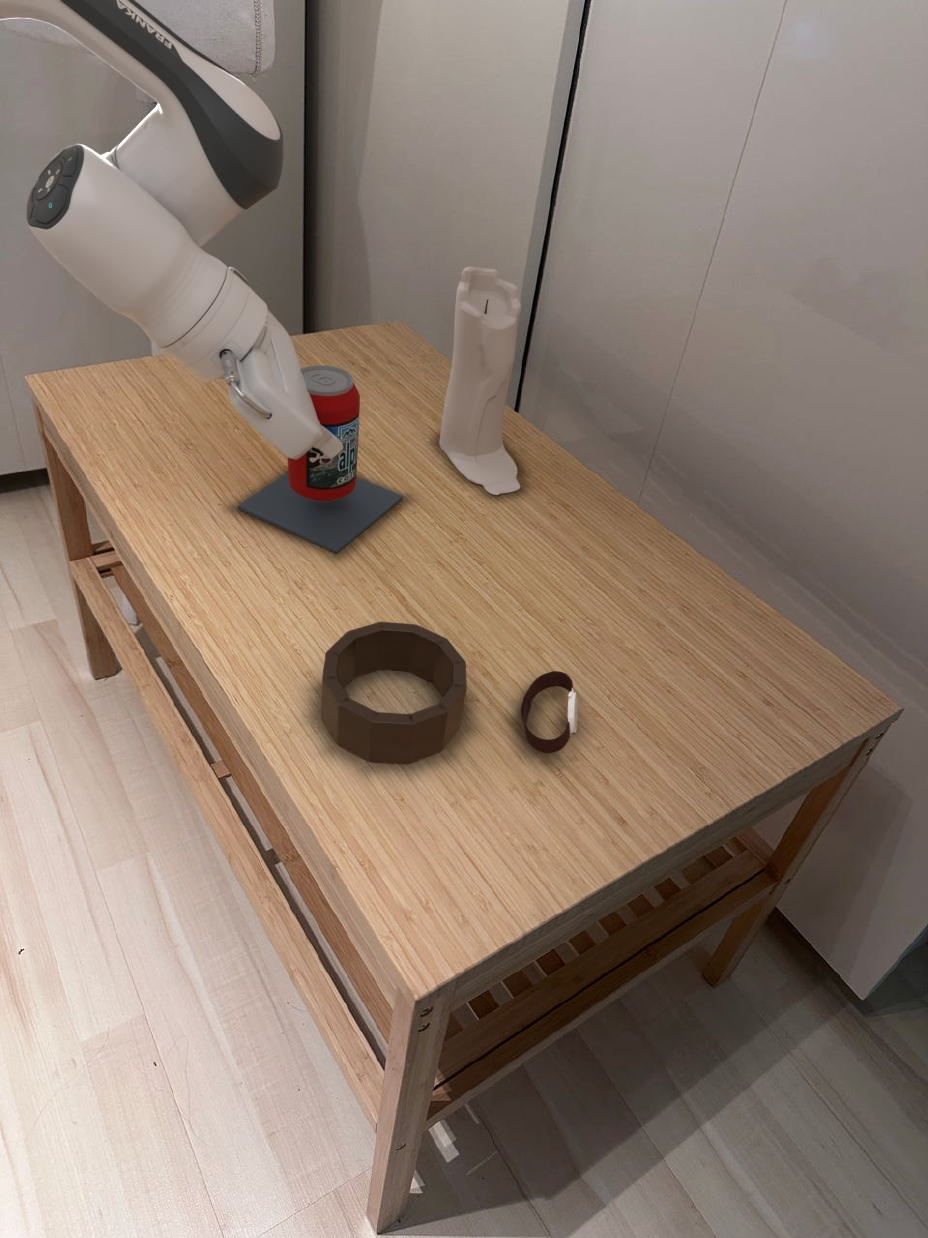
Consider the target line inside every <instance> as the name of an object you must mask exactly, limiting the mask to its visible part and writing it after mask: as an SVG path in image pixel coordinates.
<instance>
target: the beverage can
mask: <svg viewBox="0 0 928 1238" xmlns="http://www.w3.org/2000/svg"><path fill="white" fill-rule="evenodd" d="M301 368H302V369H300V371H301V372H302V373H303V377H304V381H305V384H306V386H307V387H306V389H307V390H308V392H309V393H310V396H311V399H312V402H313V405H314V408H315V411H316V415H317V418H318V420H319V422H320V425H322V426H323V427H325V428H326V429H327V430H328V429H329V428H330V429H331V430H332V431H334V432H335V434H337V435H338V436H339V437H340V439H341V441H342V444H343V449H342V450H341V451H340V452H339V453H338V454H337V455H336V456H335V457H332V458H330V457H328V456H327V455H325V454H324V453H323V452H322V451H321V450H319V449H317V448H314V447H312V448H311V449H310V450H309V451H308V452H307V453H305V454H304V455H303V456H302V457H300V458H299V459H291V458H288V457H287V472H288V481H289V485H290V487H291V488H292V489H293V490H294V491H295V492H296V493H297V494H299V495H301V496H303V497H305V498H308V499H310V500H313V501H319V502H328V501H334V500H337V499H340V498H342V497H345V496H347V495H348V494H350V493H351V492H352V491H353V490H354V488H355V485H356V477H357V472H358V471H357V469H358V452H359V433H360V431H359V430H360V412H361V411H360V409H361V394H360V391H359V390H358V388H357V385H356V384H355V383H354V377H353V376H352V374H351V373H349V371H346V370H345V369H343V368H340V367H337V366H333V365H328V364H327V365H326V364H314V365H308V366H305V367H301Z"/></svg>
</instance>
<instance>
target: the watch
mask: <svg viewBox="0 0 928 1238" xmlns="http://www.w3.org/2000/svg"><path fill="white" fill-rule="evenodd" d="M553 687H558V688H562V689H565V690H566V691H568V692H569V693H568V694H567V697H568V699H567V725H566V728H565V730H564V731H563V732H562V734H560V735H559V736H557V737H556V738H551V739H545V738H541V737H538V736H536V735H535V734H533V732H532V731H531V730H530V729H529V728H528V726H527V723H528V718H529V713H530V711H531V707H532V702H533V700H534V699H535V697H536V696H537V695H538V694H539V693H541V692H542V691H544V690H545V689H549V688H553ZM578 701H579V700H578V693H577V691H575V690H574V682H573V680H572V678H571V676H570V675H568V674H567V673H565V672H564V671H557V670H554V671H553V670H552V671H549V672H546V673H543V674H541V675H539V676H538V677H536V678H535V679H534V680H533V681H532V683H530V686H529V687H528V689H527V690H526V692H525V693H524V696H523V698H522V702H521V708H520V713H521V720H522V722H523V728H524V735H525V738H526V741H527V742H528V744H529V745H530V746H531V747H532V748H533V749H534V750H536V751H537V752H540V753H543V754H554V753H557V752H559V751H561V750H562V749H564V748H565V747H566V746H567V744H568V742H569V740H570V738H572V734H573V733H574V734H575V733H577V730H578V722H579V721H578V720H579V718H578V717H579V716H578V715H579V704H578Z"/></svg>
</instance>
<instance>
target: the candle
mask: <svg viewBox="0 0 928 1238" xmlns="http://www.w3.org/2000/svg"><path fill="white" fill-rule="evenodd" d="M521 311H522V305H521V302H520V289H519V286H517V285H516V284H513V283H512V282H510V281H506V280H503V279H502V278H500V276H499V271H498V270H496V269H495V268H487V267H486V268H485V267H478V266H467V267H464V268H463V270H462V272H461V275H460V279H459V282H458V286H457V289H456V296H455V309H454V331H453V347H452V348H453V351H452V361H451V368H450V375H449V380H448V385H447V390H446V394H445V399H444V404H443V410H442V418H441V425H440V434H439V447H440V449H441V451H443V452H444V454H445V455H446V456H447V457H448V459H449V461H450V462H451V463H452V464H453V466H454V467H455V468H456V469H457V471H458V472H459V473H460V474H461V475H462V476H463V477H465V479H467V480H468V481H470V482H472V483H473V484H476V485H479V486H482V487H483V489H484V490H485V491H486V492H488V493H489V494H491V495H493V496H499V495H501V494H508V493H513V492H516V491H518V490H520V488H521V485H520V483H519V480H518V478H517V476H518V467H517V464H516V461H515V460H514V459H513V458H512V457H511V455H510V454H509V452H507V450H506V448H505V445H504V442H503V430H504V418H505V408H506V401H507V397H508V396H507V395H508V391H509V386H510V381H511V376H512V372H513V367H514V362H515V357H516V356H515V355H516V347H517V336H518V328H519V321H520V317H521Z"/></svg>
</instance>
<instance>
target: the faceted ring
mask: <svg viewBox="0 0 928 1238" xmlns="http://www.w3.org/2000/svg"><path fill="white" fill-rule="evenodd" d="M379 670H383V671H385V670H386V671H398V672H399V671H400V672H408V673H410V674H412V675H415V676H417V677H419V678H421V679H423V680H425V681H427V682H429V683H431V684H433V686H434V688H435V689H436V690H437V692H438V693H439V695H441V696H442V699H441V700H440V701H439V702H438V703H436V704H435V705H434V704H433V705H431V706H429V707H426V708H423V709H421V710H418V711H415V712H412V713H397V712H396V713H395V712H383V711H382V712H380V711H376V710H374V709H371V708H370V707H367V706H366V705H364V704H362V703H360V702H358V701H356V700H354V699H352V698H350V697H349V695H348V693H347V692H346V690H345V688H346V687H347V685H348V684H349V683H350V682H351V681H352V680H353V679H355V678H359V677H360V676H363V675H367V674H369V673H373V672H375V671H379ZM466 694H467V665H466V660H465V659H464V657H463V656H462V655H461V654H460V653H459V651H458V650H457V649H456V648H455V647H454V646H453V644H452V643H451V642H450V640H449V639H448V638H446V637H445V636H442V635H440V634H438V633H436V632H434V631H432V630H429V629H427V628H425V627H423V626H421V625H418V624H415V623H404V622H389V621H377V622H374V623H371V624H368V625H363V626H361V627H357V628H354V629H351V630H348V631H346V632H345V633H343V635H342V636H341V637H340V638H339V639H338V640H336V641H335V643H333V644H332V646H331V647H330V648H329V649H327V651H326V652H325V655H324V663H323V670H322V677H321V715H320V716H321V718H320V719H321V720H322V722H323V723H324V726H325V727H326V729H327V730H328V732H329V733H330V735H331V736H332V738H333V741H335V743H336V744H337V746H339V747H340V748H342V749H345V750H346V751H348V752H350V753H352V754H354V755H356V756H357V757H360V758H361V759H363V760H365V761H368V762H370V763H383V764H396V765H397V764H399V765H410V764H413V763H415V762H418V761H420V760H423V759H426V758H429V757H431V756H433V755H436V754H439V753H441V752H442V751H443V750H444V749H445V748H446V747H447V745H448V744H449V743H450V741H451V740H452V738H453V737H454V736H455V735H456V733H457V732H458V731H459V730H460V727H461V722H462V716H463V711H464V707H465V706H464V705H465V699H466Z"/></svg>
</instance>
